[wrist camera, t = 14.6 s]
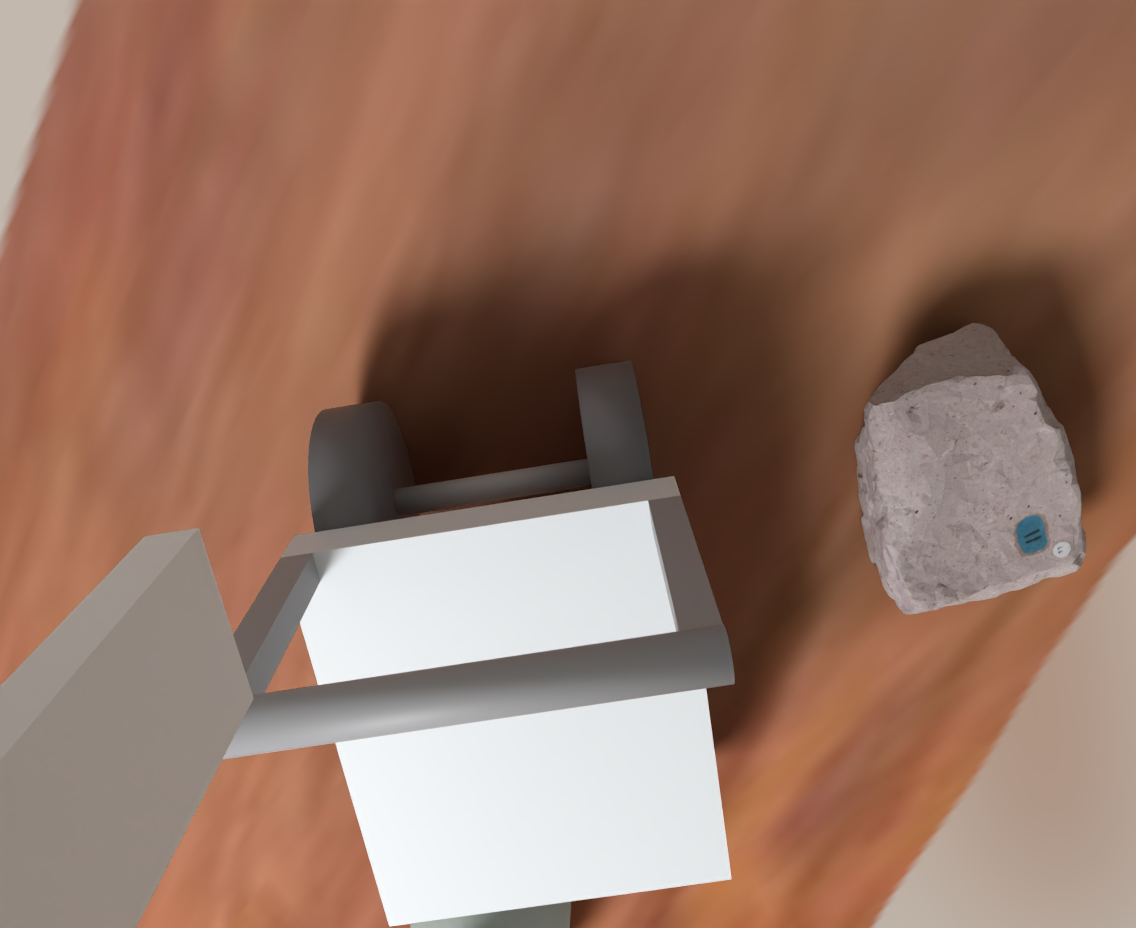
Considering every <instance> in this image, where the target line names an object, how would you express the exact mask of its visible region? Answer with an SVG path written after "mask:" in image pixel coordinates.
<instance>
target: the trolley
mask: <svg viewBox="0 0 1136 928" xmlns="http://www.w3.org/2000/svg"><path fill="white" fill-rule="evenodd" d="M575 374H576V383H577V391H578V398H579V406H580V413H581V420H582V426H583V433H584V440H585V446H586V453H587V459H581V460H575V461H569V462H562V463H556V464H550V465H543V466H537V467H531V468H524V469H518V470H512V471H505V472H499V473H493V474H486V475H480V476H474V477H467V478H461V479H455V480H448V481H442V482H436V483H429V484H423V485H417V486H416V484H415V479H414V474H413V469H412V465H411V461H410V457H409V453H408V450H407V446H406V443H405V440H404V437H403V434H402V432H401V429H400V426H399V424H398V422H397V419H396V417H395V416H394V414H393V412H392V410H391V409H390V407H389V406H388V405H387V404H386V403H385V402H383V401H374V402H368V403H362V404H356V405H350V406H344V407H337V408H331V409H325V410H323V411H321V412H320V413H319V414H318V416H317V417H316V419H315V422H314V424H313V427H312V432H311V437H310V444H309V456H308V475H309V492H310V502H311V510H312V517H313V523H314V528H315V532H313V533H307V534H301V535H294V537H293V539H292V540H291V542H290V543H289V545H288V547H287V548H286V550H285V552H284V553H283V555H282V556H281V558H280V560H279V561H278V563H277V565H276V566H275V568H274V570H273V571H272V573H271V574H270V576H269V578H268V579H267V581H266V583H265V584H264V586H263V587H262V589H261V591H260V592H259V594H258V596H257V597H256V599H255V601H254V602H253V604H252V605H251V607H250V609H249V610H248V612H247V614H246V615H245V617H244V618H243V620H242V622H241V623H240V625H239V627H238V628H237V630H236V631H235V633H234V635H233V636H234V639H235V642H236V645H237V648H238V651H239V654H240V657H241V660H242V664H243V667H244V670H245V673H246V676H247V679H248V682H249V685H250V688H251V691H252V694H253V698H254V699H253V701H252V703H251V704H250V706H249V708H248V710H247V712H246V714H245V716H244V718H243V720H242V722H241V724H240V726H239V728H238V730H237V732H236V734H235V736H234V738H233V740H232V742H231V743H230V745H229V747H228V749H227V751H226V753H225V755H224V757H223V759H228V758H235V757H242V756H249V755H256V754H262V753H269V752H276V751H283V750H290V749H296V748H303V747H310V746H317V745H324V744H330V743H335V744H336V747H337V750H338V754H339V757H340V761H341V764H342V767H343V771H344V774H345V778H346V781H347V784H348V788H349V791H350V795H351V798H352V801H353V805H354V808H355V812H356V815H357V818H358V822H359V825H360V829H361V832H362V835H363V839H364V842H365V845H366V849H367V852H368V856H369V859H370V862H371V866H372V869H373V873H374V876H375V879H376V883H377V886H378V890H379V893H380V896H381V900H382V903H383V907H384V910H385V913H386V917H387V920H388V924H389V926H397V925H404V924H411V923H418V922H426V921H433V920H440V919H447V918H455V917H462V916H469V915H476V914H484V913H491V912H498V911H505V910H513V909H520V908H527V907H534V906H542V905H549V904H556V903H563V902H571V901H578V900H585V899H592V898H599V897H607V896H614V895H621V894H628V893H636V892H643V891H650V890H657V889H665V888H672V887H679V886H686V885H694V884H701V883H708V882H715V881H723V880H730V879H731V871H730V864H729V856H728V849H727V841H726V834H725V826H724V819H723V811H722V804H721V796H720V789H719V781H718V773H717V766H716V758H715V751H714V743H713V736H712V728H711V721H710V713H709V706H708V698H707V691H706V688H712V687H718V686H725V685H732V684H735V675H734V667H733V660H732V654H731V649H730V644H729V639H728V635H727V631H726V628H725V626H724V624H723V623H722V620H721V617H720V614H719V611H718V608H717V605H716V602H715V599H714V596H713V592H712V589H711V586H710V583H709V580H708V577H707V574H706V571H705V568H704V565H703V562H702V559H701V556H700V553H699V550H698V547H697V544H696V541H695V538H694V535H693V532H692V529H691V526H690V522H689V519H688V516H687V513H686V510H685V507H684V504H683V501H682V498H681V495H680V492H679V489H678V486H677V483H676V480H675V477H674V476H671V477H664V478H658V479H653V473H652V466H651V460H650V454H649V448H648V442H647V436H646V430H645V424H644V418H643V413H642V407H641V402H640V396H639V391H638V386H637V381H636V377H635V372H634V368H633V364H632V361H631V360H627V361H621V362H615V363H609V364H602V365H596V366H590V367H584V368H578V369H575ZM588 486H592V489H588V490H581V491H575V492H569V493H562V494H556V495H549V496H543V497H537V498H530V499H524V500H518V501H511V502H505V503H498V504H492V505H486V506H479V507H473V508H466V509H460V510H454V511H447V512H441V513H435V514H428V515H422V516H420V513H422V512H428V511H435V510H441V509H447V508H454V507H460V506H466V505H473V504H479V503H486V502H492V501H498V500H505V499H511V498H517V497H524V496H530V495H537V494H543V493H549V492H556V491H562V490H568V489H575V488H581V487H588ZM299 623H300V625H301V628H302V631H303V635H304V638H305V642H306V645H307V648H308V652H309V655H310V659H311V662H312V665H313V669H314V672H315V676H316V679H317V682H318V685H316V686H309V687H302V688H296V689H289V690H282V691H276V692H269V693H265V691H266V689H267V687H268V685H269V683H270V681H271V679H272V677H273V675H274V673H275V671H276V669H277V667H278V665H279V663H280V661H281V659H282V657H283V655H284V653H285V651H286V649H287V647H288V645H289V643H290V641H291V639H292V637H293V635H294V633H295V631H296V629H297V627H298V625H299Z"/></svg>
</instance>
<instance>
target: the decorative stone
mask: <svg viewBox="0 0 1136 928" xmlns="http://www.w3.org/2000/svg"><path fill="white" fill-rule="evenodd" d="M864 412H865V415H864V422H865V425H864V426H863V428H862V430H861V433H860V434H859V435H858V436H857V438H856V440H855V442H854V450H855V453H856V458H857V479H858V489H859V491H858V498H859V501H860V504H861V508H862V511H863V514H864V515H863V516H862V517H861V522H862V527H863V531H864V537H865V541H866V544H867V551H868V554H869V558H870V560H871V562H872V563H873V564H874V565H875V566H876V567H877V568H878V570H879V573H880V578H881V582H882V584H883V587H884V589H885V591H886V592H887V594H888V595H889V596H890V598H892V599H894V600H895V603H896V605H897V606H898V607H899V608H900V610H901V611H902V612H903V613H904V614H917V613H920V612H926V611H930V610H938V609H940V608H942V607H945V606H951V605H958V604H963V603H966V602H968V601H978V600H985V599H990V598H994V597H997V596H999V595H1000V594H1003V593H1006V592H1009V591H1014V590H1020V589H1022V588H1025V587H1027V586H1030V585H1032V584H1035V583H1038V582H1039V581H1040V580H1042V579H1045V578H1048V577H1060V576H1063V575H1067V574H1070V573H1073V572H1076V571H1077V570H1078V569H1079V568H1080V567H1081V565H1082V562H1083V560H1084V558H1085V552H1086V536H1085V531H1084V529H1083V527H1082V525H1081V509H1082V505H1081V492H1080V488H1079V484H1078V482H1077V476H1076V470H1075V461H1074V457H1073V454H1072V451H1071V448H1070V445H1069V441H1068V438H1067V435H1066V432H1065V429H1064V427H1063V425H1062V424H1061V423H1060V422H1058V421H1057V419H1056V418H1055V416H1054V414H1053V413H1052V411H1051V409H1050V408H1049V407H1048V406H1047V404H1046V402H1045V400H1044V398H1043V396H1042V393H1041V391H1040V388H1039V386H1038V384H1037V382H1036V380H1035V379H1034V377H1033V376H1032V374H1031V372H1030V371H1029V370H1028V369H1027V368H1025V367H1024V366H1023V365H1022V364H1021V363H1019V361H1018V360H1017V359H1016V358H1015V357H1013V356H1012V355H1011V353H1010V351H1009V350H1008V349H1007V348H1006V346H1005V345H1004V343H1003V342H1002V341H1001V339H1000V338H999V336H998V334H997V333H996V332H995V331H994V330H993V329H992V328H991V327H988V326H986V325H983V324H979V323H971V324H969V325H967V326H964V327H962V328H961V329H959V330H957V331H956V332H954V333H951V334H948V335H945V336H943V337H940V338H937V339H934V340H931V341H928V342H926V343H923V344H921V345H918V346H917V347H916V348H915V350H914V353H913V354H912V355H910V356H909V357H907V358H906V359H905V360H904V361H903V363H902V364H901V365H900V366H899V367H898V369H897V370H896V371H895V372H894V373H893V374H891V375H890V376H889V377H888V378H887V379H886V380H884V381H883V382H882V383H881V384H880V385H879V387H878V388H877V389H876V390H875V391H874V393H873V394H872V396H871V397H870V399H869V400H868V402H867V404H866V406H865V408H864Z"/></svg>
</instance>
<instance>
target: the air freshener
mask: <svg viewBox="0 0 1136 928" xmlns="http://www.w3.org/2000/svg"><path fill="white" fill-rule="evenodd" d="M570 916H571V902H563V903H556V904H549V905H542V906H534V907H527V908H520V909H513V910H505V911H498V912H491V913H484V914H476V915H469V916H462V917H455V918H447V919H440V920H433V921H426V922H418V923H411V927H410V928H570Z"/></svg>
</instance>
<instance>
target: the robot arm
mask: <svg viewBox="0 0 1136 928" xmlns="http://www.w3.org/2000/svg"><path fill="white" fill-rule="evenodd" d="M253 699H254V698H253V694H252V691H251V688H250V685H249V682H248V679H247V676H246V673H245V670H244V667H243V664H242V660H241V657H240V654H239V651H238V648H237V645H236V642H235V639H234V636H233V633H232V630H231V626H230V623H229V620H228V617H227V614H226V611H225V608H224V605H223V602H222V599H221V596H220V592H219V589H218V586H217V583H216V580H215V577H214V574H213V571H212V568H211V565H210V561H209V558H208V555H207V552H206V549H205V546H204V543H203V540H202V537H201V534H200V531H199V528H195V529H189V530H183V531H176V532H170V533H164V534H157V535H151V536H145V537H143V539H142V540H141V541H140V542H139V543H138V544H137V545H136V546H135V547H134V548H133V549H132V550H131V551H130V552H129V553H128V554H127V555H126V556H125V557H124V558H123V559H122V560H121V561H120V562H119V563H118V564H117V565H116V566H115V568H114V569H113V570H112V571H111V572H110V573H109V574H108V575H107V576H106V577H105V578H104V579H103V580H102V581H101V582H100V583H99V584H98V585H97V586H96V587H95V588H94V589H93V590H92V591H91V592H90V593H89V594H88V596H87V597H86V598H85V599H84V600H83V601H82V602H81V603H80V604H79V605H78V606H77V607H76V608H75V609H74V610H73V611H72V612H71V613H70V614H69V615H68V616H67V617H66V618H65V619H64V620H63V621H62V622H61V623H60V625H59V626H58V627H57V628H56V629H55V630H54V631H53V632H52V633H51V634H50V635H49V636H48V637H47V638H46V639H45V640H44V641H43V642H42V643H41V644H40V645H39V646H38V647H37V648H36V649H35V650H34V651H33V652H32V654H31V655H30V656H29V657H28V658H27V659H26V660H25V661H24V662H23V663H22V664H21V665H20V666H19V667H18V668H17V669H16V670H15V671H14V672H13V673H12V674H11V675H10V676H9V677H8V678H7V679H6V680H5V682H4V683H3V684H2V685H1V686H0V928H136V927H137V925H138V923H139V921H140V919H141V917H142V915H143V913H144V911H145V909H146V907H147V905H148V903H149V901H150V899H151V898H152V896H153V894H154V892H155V890H156V888H157V886H158V884H159V882H160V880H161V878H162V876H163V874H164V872H165V870H166V868H167V866H168V864H169V862H170V860H171V859H172V857H173V855H174V853H175V851H176V849H177V847H178V845H179V843H180V841H181V839H182V837H183V835H184V833H185V831H186V829H187V827H188V825H189V823H190V821H191V820H192V818H193V816H194V814H195V812H196V810H197V808H198V806H199V804H200V802H201V800H202V798H203V796H204V794H205V792H206V790H207V788H208V786H209V784H210V782H211V781H212V779H213V777H214V775H215V773H216V771H217V769H218V767H219V765H220V763H221V761H222V759H223V757H224V755H225V753H226V751H227V749H228V747H229V745H230V743H231V742H232V740H233V738H234V736H235V734H236V732H237V730H238V728H239V726H240V724H241V722H242V720H243V718H244V716H245V714H246V712H247V710H248V708H249V706H250V704H251V703H252V701H253Z"/></svg>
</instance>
